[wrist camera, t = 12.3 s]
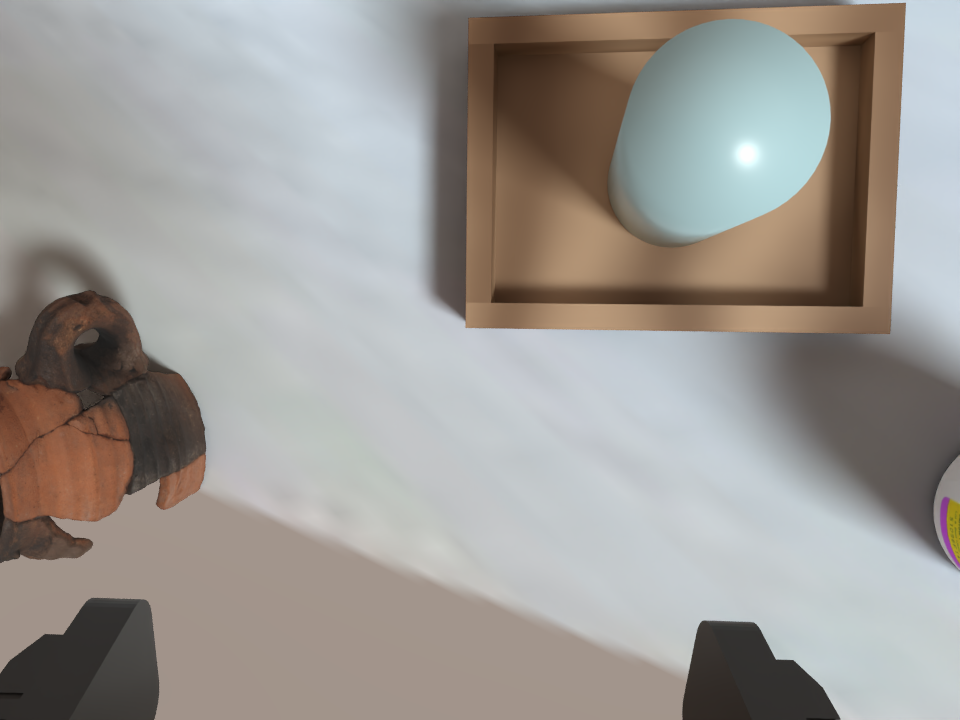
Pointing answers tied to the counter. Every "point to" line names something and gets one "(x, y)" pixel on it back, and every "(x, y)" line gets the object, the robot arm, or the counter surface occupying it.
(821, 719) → the robot arm
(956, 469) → the supplement bottle
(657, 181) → the pale green capsule
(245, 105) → the counter surface
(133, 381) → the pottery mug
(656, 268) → the tray
